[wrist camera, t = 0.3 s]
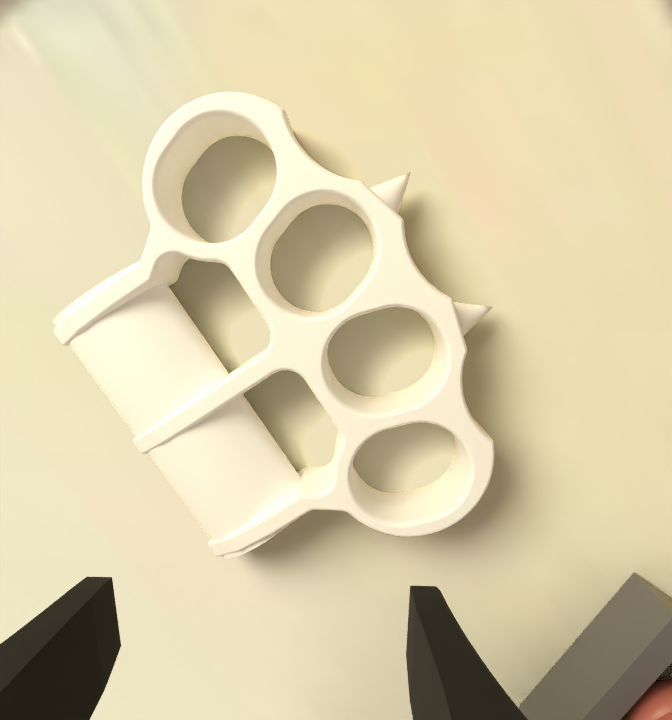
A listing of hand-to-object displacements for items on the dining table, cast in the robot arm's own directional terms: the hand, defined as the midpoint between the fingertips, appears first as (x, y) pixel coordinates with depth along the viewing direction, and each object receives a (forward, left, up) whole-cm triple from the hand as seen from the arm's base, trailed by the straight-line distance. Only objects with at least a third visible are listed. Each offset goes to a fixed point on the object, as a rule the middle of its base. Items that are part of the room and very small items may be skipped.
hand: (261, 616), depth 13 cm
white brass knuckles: (+4, +3, -11) cm, 12 cm away
